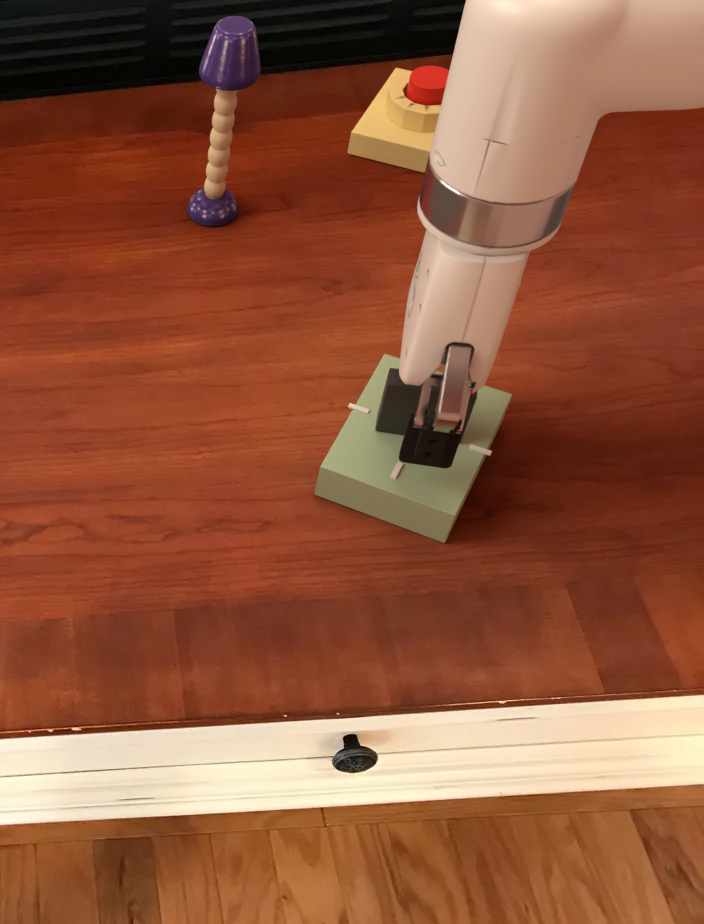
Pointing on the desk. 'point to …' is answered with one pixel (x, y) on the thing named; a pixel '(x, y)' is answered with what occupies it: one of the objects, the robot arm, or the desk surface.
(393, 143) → the button block
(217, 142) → the toy lamp
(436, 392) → the black rectangular block
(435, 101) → the button
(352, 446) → the panel
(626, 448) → the desk surface
